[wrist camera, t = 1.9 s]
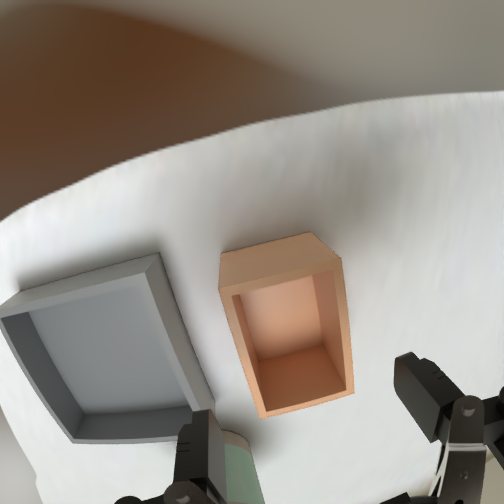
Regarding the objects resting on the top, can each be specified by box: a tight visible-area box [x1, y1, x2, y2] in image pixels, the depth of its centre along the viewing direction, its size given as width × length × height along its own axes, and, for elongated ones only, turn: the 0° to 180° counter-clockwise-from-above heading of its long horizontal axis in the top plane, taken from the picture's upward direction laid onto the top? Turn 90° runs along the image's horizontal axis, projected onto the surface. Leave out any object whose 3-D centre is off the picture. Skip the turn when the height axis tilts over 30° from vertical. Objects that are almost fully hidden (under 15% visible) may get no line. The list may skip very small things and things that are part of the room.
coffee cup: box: [221, 430, 265, 504], centre depth 20 cm, size 9×8×12 cm
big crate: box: [0, 252, 215, 444], centre depth 20 cm, size 13×13×4 cm
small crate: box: [218, 232, 355, 419], centre depth 19 cm, size 6×9×6 cm, turn 13°
